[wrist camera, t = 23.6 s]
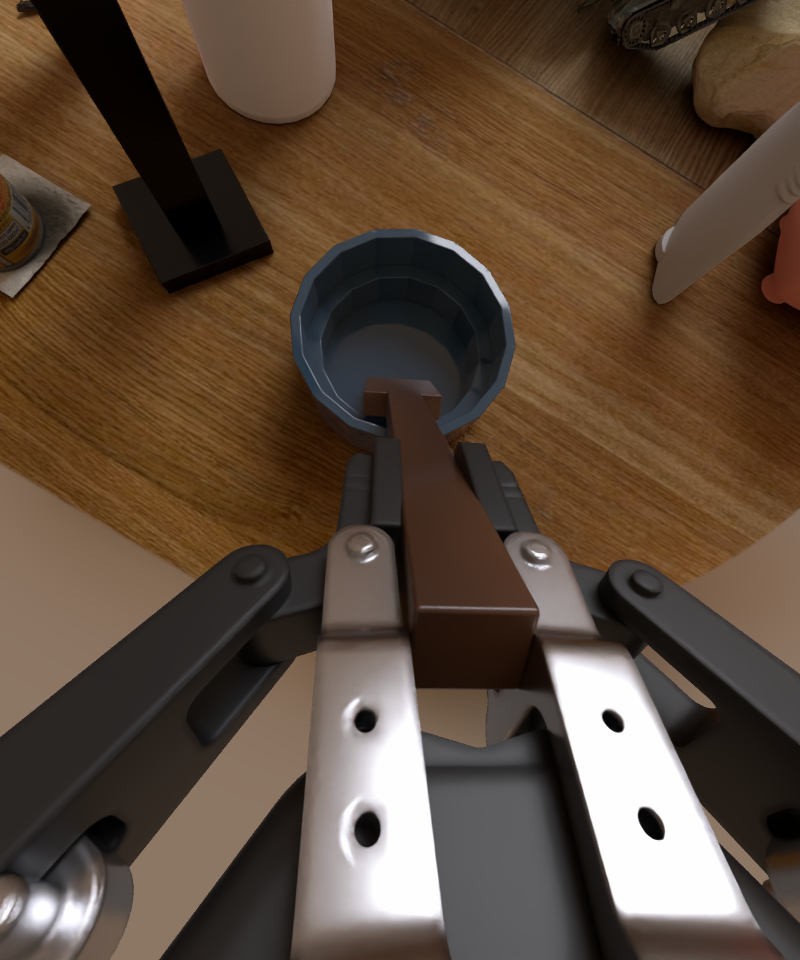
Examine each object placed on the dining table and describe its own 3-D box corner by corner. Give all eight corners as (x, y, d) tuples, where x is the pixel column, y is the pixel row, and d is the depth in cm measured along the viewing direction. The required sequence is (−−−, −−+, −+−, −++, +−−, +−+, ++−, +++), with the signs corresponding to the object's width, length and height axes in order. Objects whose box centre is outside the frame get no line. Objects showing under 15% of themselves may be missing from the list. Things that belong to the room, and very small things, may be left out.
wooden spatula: (317, 691, 6) (315, 606, 5) (366, 396, 26) (367, 373, 26) (601, 693, 6) (633, 613, 5) (428, 400, 27) (430, 377, 26)
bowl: (358, 490, 26) (356, 479, 21) (273, 328, 27) (251, 278, 22) (516, 408, 28) (553, 379, 23) (432, 260, 29) (448, 198, 24)
